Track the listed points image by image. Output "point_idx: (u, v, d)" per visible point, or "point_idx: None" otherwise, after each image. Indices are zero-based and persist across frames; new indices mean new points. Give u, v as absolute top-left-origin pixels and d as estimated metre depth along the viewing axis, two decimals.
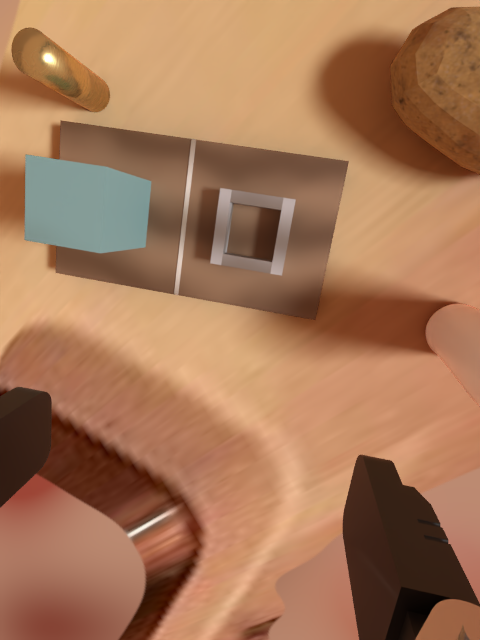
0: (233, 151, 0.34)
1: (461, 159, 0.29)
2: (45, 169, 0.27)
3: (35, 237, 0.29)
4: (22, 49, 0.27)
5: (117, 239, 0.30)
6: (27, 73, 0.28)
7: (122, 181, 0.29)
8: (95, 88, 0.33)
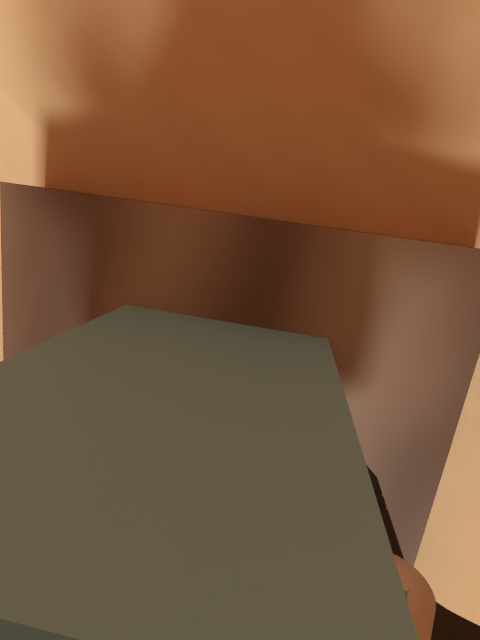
0: None
1: None
2: None
3: None
4: None
5: None
6: None
7: None
8: None
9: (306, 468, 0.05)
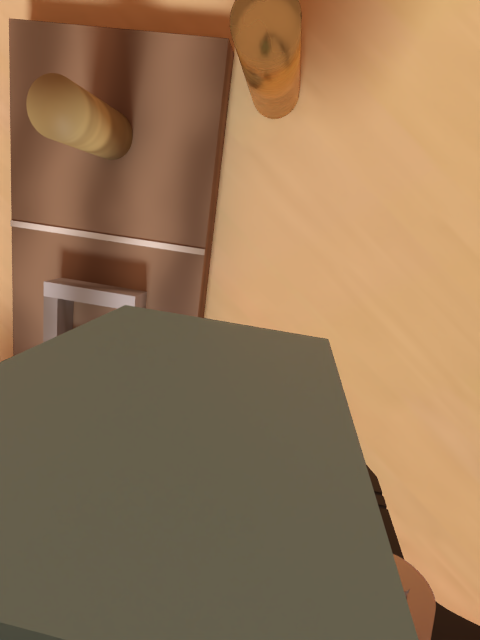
0: (191, 303, 0.27)
1: None
2: None
3: None
4: (269, 2, 0.16)
5: None
6: (233, 11, 0.16)
7: None
8: (266, 106, 0.23)
9: (306, 469, 0.05)
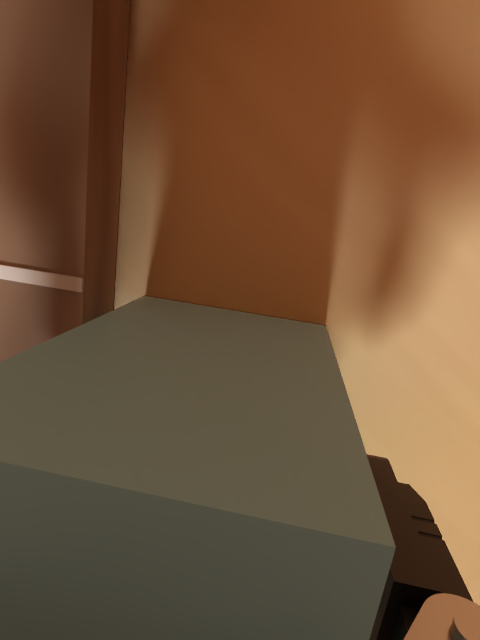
0: None
1: None
2: None
3: None
4: None
5: None
6: None
7: None
8: None
9: (306, 413, 0.06)
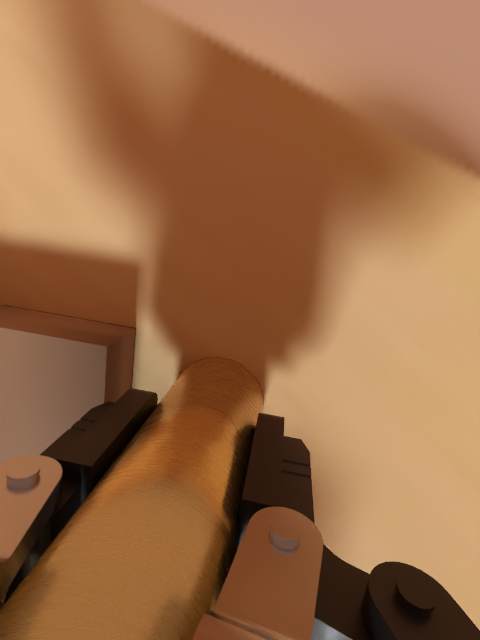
0: None
1: None
2: None
3: None
4: None
5: None
6: None
7: None
8: None
9: None
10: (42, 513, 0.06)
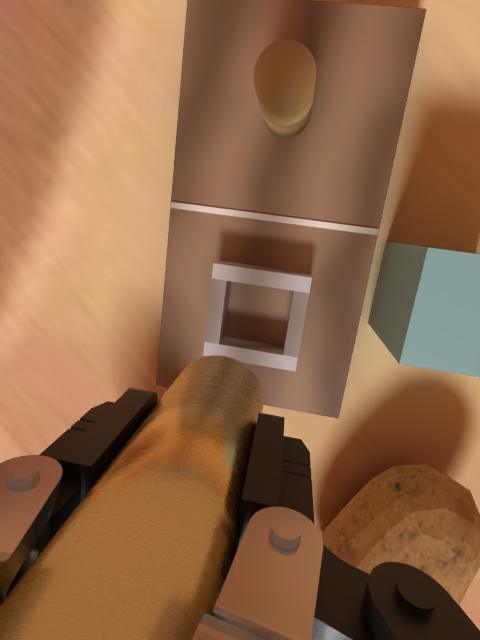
0: (358, 285, 0.26)
1: (332, 537, 0.28)
2: None
3: (431, 266, 0.19)
4: None
5: None
6: None
7: None
8: None
9: None
10: (42, 513, 0.06)
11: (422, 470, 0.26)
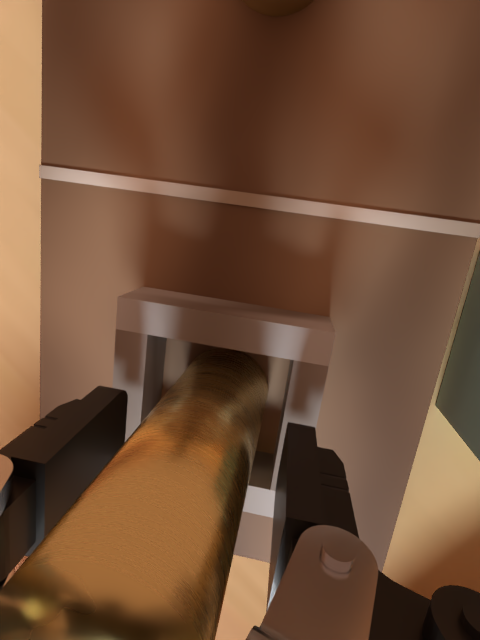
0: (430, 343, 0.12)
1: None
2: None
3: None
4: (102, 620, 0.05)
5: None
6: None
7: None
8: None
9: None
10: None
11: None
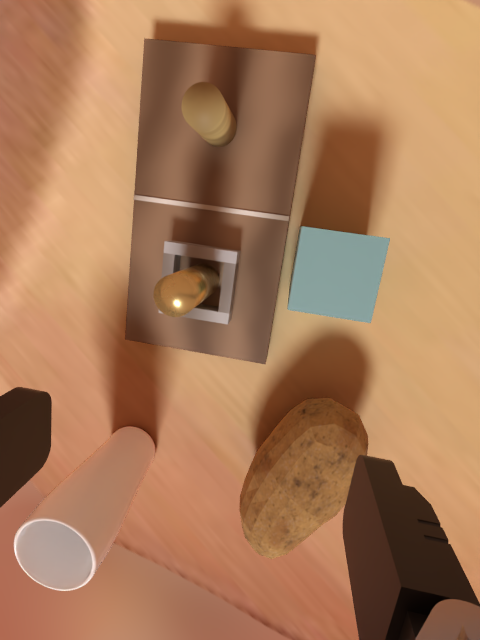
0: (276, 259, 0.34)
1: (258, 454, 0.36)
2: (373, 259, 0.27)
3: (304, 239, 0.27)
4: (176, 287, 0.27)
5: None
6: (155, 289, 0.27)
7: None
8: None
9: None
10: None
11: (324, 400, 0.34)
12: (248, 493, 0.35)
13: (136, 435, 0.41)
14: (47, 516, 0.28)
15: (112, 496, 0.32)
